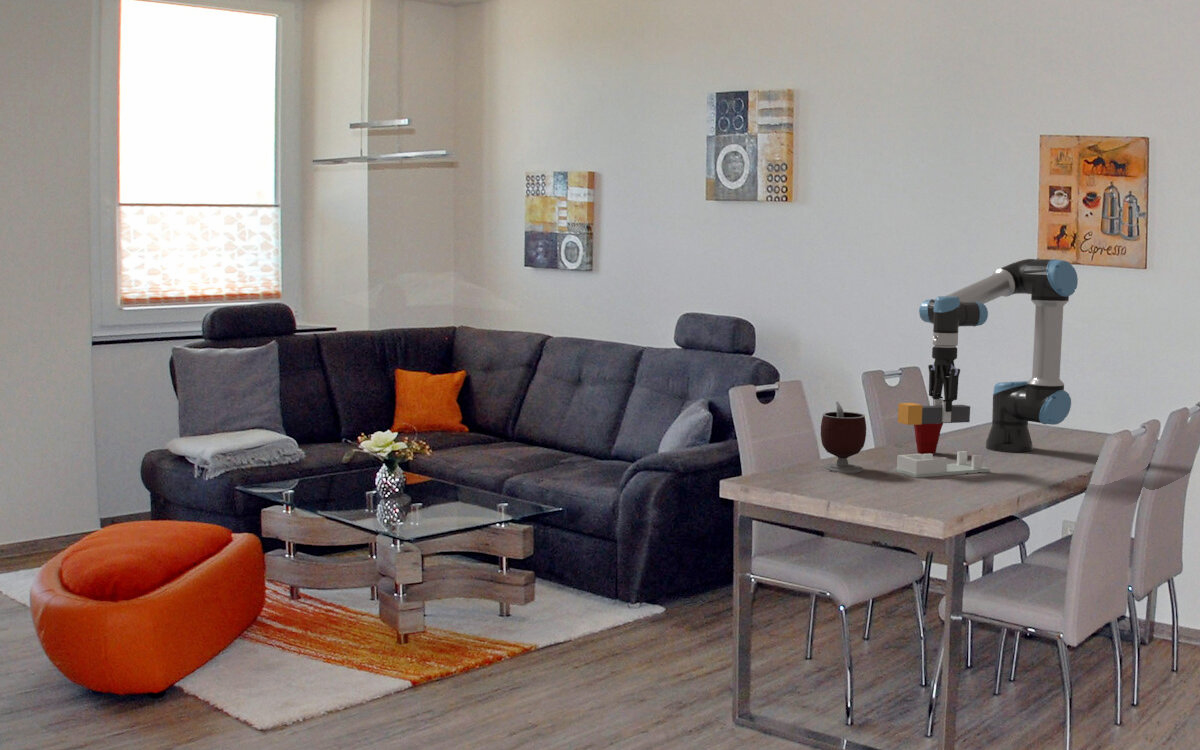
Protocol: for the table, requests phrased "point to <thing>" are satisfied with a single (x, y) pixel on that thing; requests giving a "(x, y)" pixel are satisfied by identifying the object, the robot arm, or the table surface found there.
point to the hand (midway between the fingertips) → (941, 420)
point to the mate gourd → (843, 438)
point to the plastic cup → (927, 437)
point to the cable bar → (930, 414)
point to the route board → (938, 465)
